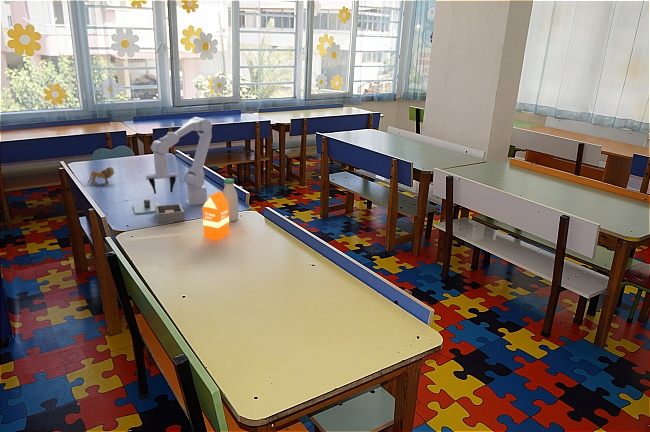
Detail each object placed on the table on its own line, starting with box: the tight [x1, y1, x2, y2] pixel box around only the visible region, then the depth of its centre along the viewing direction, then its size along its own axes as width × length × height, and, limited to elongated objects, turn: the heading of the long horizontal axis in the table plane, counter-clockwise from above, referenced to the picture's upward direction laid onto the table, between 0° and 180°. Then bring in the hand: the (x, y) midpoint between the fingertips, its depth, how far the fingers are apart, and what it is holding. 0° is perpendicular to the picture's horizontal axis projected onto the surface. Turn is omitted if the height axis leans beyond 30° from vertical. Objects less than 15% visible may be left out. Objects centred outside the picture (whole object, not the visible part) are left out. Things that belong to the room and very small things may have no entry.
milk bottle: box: [221, 177, 239, 223], centre depth 238 cm, size 8×8×20 cm
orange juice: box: [202, 189, 230, 242], centre depth 219 cm, size 8×9×20 cm
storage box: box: [155, 203, 186, 224], centre depth 239 cm, size 12×12×5 cm
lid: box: [132, 199, 161, 215], centre depth 248 cm, size 13×13×5 cm
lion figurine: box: [87, 166, 115, 185], centre depth 285 cm, size 15×5×9 cm, turn 103°
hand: (163, 192), depth 245 cm, fingers open, 7 cm apart
